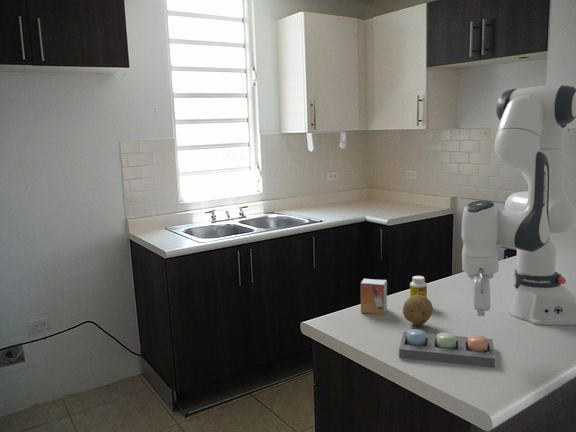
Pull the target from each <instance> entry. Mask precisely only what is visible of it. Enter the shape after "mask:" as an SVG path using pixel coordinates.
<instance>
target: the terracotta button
mask: <svg viewBox="0 0 576 432" xmlns="http://www.w3.org/2000/svg"><path fill="white" fill-rule="evenodd" d="M467 337H468V350H467V351H475V352H486V353H488V352H487V351H488V339H489V338H487V337H485V336H484V335H479V334H478V335H477V334H473V335H469V336H467Z"/></svg>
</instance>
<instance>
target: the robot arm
mask: <svg viewBox="0 0 576 432" xmlns="http://www.w3.org/2000/svg"><path fill="white" fill-rule="evenodd" d="M495 111H496V116H497V119H498V120H499V124H498V127H497V131H496V135H495V140H494V148H493V151H494V154H495V156H496V158H497V159H498V160H499V162H501V163H502V164H503V165H505V167H508V168H510V169H512V170H514V171H516V172H518V173H519V172H520V173H521V174H522V176H523V178H524V180H526V181H525V182H526V183H527V186H528V188H527V191H518V192H514V193H512V194H510V195H509V196H508V197H507V199H506V200H505V203H504V209H502V208H501V209H500V208H497V207H496V204H495V203H494V202H493V201H491V200H483V199H482V200H476V201H471V202H470V203H467V204H466V205H465V206H464V209H463V212H462V217H461V218H462V219H461V239H462V244H463V246H462V250H461V257H462V258H461V260H462V261H461V262H462V263H461V265H462V269H461V270H462V271H463V272H464V273H466V274H467V277H468V278H469V279H470V280H471V285H472V295H473V296H472V298H473V305H474V306H473V307H474V309H475V311H476V313H477V316H478V317H484V316H485V315H486V314H485V313H486V312H487V311H490V310H491V287H490V285H491V284H490V280H491V279H493V277H494V274H496V273H498V272H499V249H498V246H501V247H506V248H512V249H513V248H514V249H516V268H515V269H514V275H513V285H514V292H513V296H512V297H513V298H512V302H511V304H510V308H509V313H510V314H511V315H512V316H514V317H516V318H518V319H521V320H525V321H528V322H530V323H532V324H534V325H540V326H542V325H549V326H550V325H551V326H552V325H554V326H555V325H556V326H557V325H558V326H561V325H563V326H565V325H566V326H567V325H568V326H569V325H570V326H576V294H575V293H574V292H573V291H571V290H570V289H569V288H567V287H566V286H564V284H566V283H567V280H566V277H564V276H562V274H560V273H559V272H557V271H556V259H557V258H556V257H557V249H556V246H555V244H554V243H553V241H552V240H551V237H550V234H551V233H554V234H557V233H560V234H561V233H565V232H567V231H569V230H570V229H571V228H572V227H573V226H574V224H575V222H576V208H575V206H574V205H573V204H572V202H571V201H570V199H569V197H568V195H567V192H566V187H565V184H564V178H563V164H564V153H565V152H564V150H565V128H566V127H567V125H568V124H570V123H571V124H572V122H573V121H574V120H575V119H576V87H575V86H570V85H560V86H559V85H537V86H532V87H524V88H518V89H516V88H512V89H508V90H505V91H503V93H502V94H500V95H499V97H498V98H497V102H496V110H495Z"/></svg>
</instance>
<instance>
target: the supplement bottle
mask: <svg viewBox="0 0 576 432" xmlns="http://www.w3.org/2000/svg"><path fill="white" fill-rule="evenodd" d="M425 281H426V279H425V277H424V276H422V275H415V276H412V281H411V282H410V283H409V298H410V297H411V296H414V295H422V296H425V297H426V298H427V295H428V293H427V292H428V290H427V289H428V284H427V282H425ZM427 299H428V298H427Z"/></svg>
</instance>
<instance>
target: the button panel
mask: <svg viewBox="0 0 576 432" xmlns="http://www.w3.org/2000/svg"><path fill="white" fill-rule="evenodd" d="M437 334H438V333H436V334H434V333H426V340H425V345H424V346H412V345H408V344H407V331H403V333H402V336H401V341H400V345H399V350H398V358H399V359H407V360H409V359H410V360H418V361H426V362H437V363H446V364H447V363H448V364H458V365H466V366H468V365H469V366H475V367H486V368H496V356H495V349H494V342H493V341H494V340H493V339H492V338H487V339H488V351H487V352H475V351H469V350H468V337H469V336H460V335H459V336H458V335H455V336H456V349H443V348H438V347H437Z"/></svg>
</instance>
